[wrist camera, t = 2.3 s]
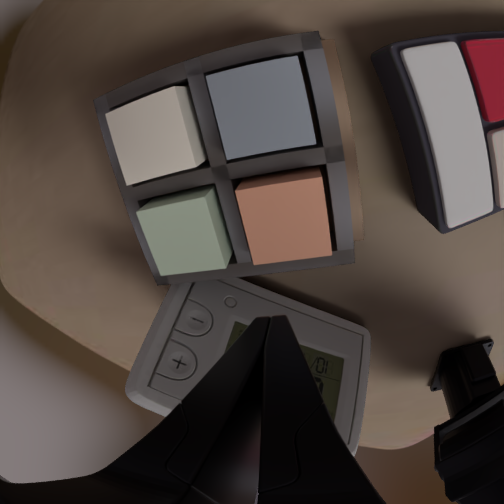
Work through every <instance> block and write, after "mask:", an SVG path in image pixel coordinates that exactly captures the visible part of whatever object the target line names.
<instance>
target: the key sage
mask: <svg viewBox="0 0 504 504" xmlns="http://www.w3.org/2000/svg"><path fill="white" fill-rule="evenodd" d="M136 213H137V216H138V219H139V222H140V224H141V227H142V230H143V232H144V235H145V237H146V240H147V243H148V245H149V248H150V250H151V253H152V255H153V258H154V260H155V263H156V265H157V268H158V270H159V272H160V275H161V276H164V275H173V274H182V273H190V272H199V271H208V270H217V269H225V268H227V265H228V263H229V260H230V258H231V255H232V253H233V250H234V249H233V246H232V242H231V238H230V235H229V231H228V228H227V224H226V221H225V217H224V213H223V210H222V206H221V203H220V199H219V195H218V192H217V188H216V184H213V185H208V186H203V187H199V188H194V189H190V190H185V191H181V192H176V193H172V194H168V195H164V196H159V197H155V198H153V199H151V200H150V201H149V202H148V203H146V204H145V205H144V206H143V207H142V208H140V209H139V210H138V211H137V212H136Z"/></svg>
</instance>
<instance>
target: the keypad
mask: <svg viewBox="0 0 504 504" xmlns="http://www.w3.org/2000/svg"><path fill="white" fill-rule="evenodd" d="M292 56H298V60H299V64H300V68H301V72H302V76H303V81H304V85H305V89H306V94H307V99H308V103H309V108H310V113H311V118H312V123H313V128H314V134H315V139H316V144H314V145H307V146H301V147H294V148H288V149H282V150H276V151H271V152H265V153H260V154H254V155H249V156H244V157H239V158H234V159H230V160H227V158H226V154H225V150H224V146H223V142H222V139H221V135H220V131H219V127H218V123H217V119H216V115H215V111H214V107H213V103H212V99H211V95H210V91H209V87H208V83H207V80H206V76H208V75H211V74H215V73H218V72H222V71H226V70H230V69H234V68H238V67H242V66H246V65H251V64H255V63H260V62H265V61H270V60H275V59H281V58H286V57H292ZM173 86H184V87H190V90H191V94H192V98H193V102H194V105H195V109H196V113H197V117H198V121H199V125H200V128H201V132H202V136H203V140H204V143H205V147H206V151H207V155H208V159H207V160H205V161H204V162H202V163H201V164H200V165H198V166H197V167H194V168H190V169H186V170H182V171H178V172H174V173H171V174H167V175H163V176H159V177H156V178H152V179H148V180H145V181H141V182H138V183H135V184H131V185H128V186H127V185H126V182H125V179H124V176H123V173H122V170H121V166H120V163H119V160H118V157H117V154H116V150H115V147H114V144H113V140H112V137H111V133H110V130H109V126H108V123H107V119H106V115H105V114H106V113H109V112H111V111H113V110H115V109H117V108H120V107H122V106H124V105H127V104H129V103H131V102H134V101H136V100H139V99H141V98H144V97H146V96H149V95H151V94H154V93H157V92H159V91H162V90H165V89H168V88H170V87H173ZM93 101H94V105H95V109H96V113H97V117H98V121H99V124H100V128H101V131H102V135H103V138H104V142H105V145H106V149H107V152H108V155H109V158H110V161H111V165H112V168H113V171H114V174H115V177H116V180H117V183H118V186H119V189H120V192H121V195H122V197H123V200H124V203H125V206H126V209H127V211H128V214H129V217H130V219H131V222H132V225H133V227H134V230H135V233H136V235H137V238H138V240H139V243H140V245H141V248H142V250H143V253H144V255H145V258H146V260H147V262H148V265H149V267H150V269H151V272H152V274H153V276H154V279H155V281H156V283H157V285H167V284H177V283H187V282H197V281H207V280H217V279H226V278H235V277H244V276H253V275H262V274H271V273H280V272H288V271H296V270H305V269H313V268H321V267H329V266H336V265H344V264H352V263H355V256H354V241H360V240H364V228H363V214H362V202H361V192H360V182H359V173H358V165H357V157H356V150H355V143H354V136H353V130H352V123H351V117H350V112H349V106H348V101H347V96H346V91H345V86H344V81H343V76H342V72H341V67H340V63H339V59H338V54H337V50H336V46H335V42H334V39H328V40H321V38H320V35H319V31H314V32H306V33H299V34H292V35H286V36H280V37H274V38H269V39H264V40H259V41H254V42H250V43H246V44H241V45H237V46H233V47H229V48H226V49H222V50H218V51H215V52H211V53H208V54H205V55H201V56H198V57H195V58H192V59H189V60H186V61H183V62H180V63H177V64H174V65H172V66H169V67H166V68H164V69H161V70H158V71H156V72H153V73H151V74H148V75H146V76H143V77H141V78H139V79H136V80H134V81H132V82H130V83H127V84H125V85H123V86H121V87H119V88H116V89H114V90H112V91H110V92H108V93H106V94H104V95H102V96H100V97H98V98H96V99H94V100H93ZM316 166H319V169H320V172H321V175H322V180H323V187H324V194H325V201H326V208H327V215H328V223H329V231H330V240H331V249H332V255H331V256H323V257H315V258H307V259H299V260H291V261H283V262H275V263H267V264H259V265H254V264H253V260H252V256H251V252H250V248H249V244H248V240H247V236H246V232H245V229H244V225H243V221H242V217H241V213H240V209H239V205H238V201H237V197H236V193H235V190H236V189H237V187H238V185H239V184H240V182H241V181H242V179H243V178H249V177H254V176H260V175H265V174H271V173H277V172H283V171H289V170H296V169H302V168H309V167H316ZM213 184H216V188H217V192H218V195H219V199H220V203H221V206H222V210H223V213H224V217H225V221H226V224H227V228H228V231H229V235H230V238H231V242H232V246H233V249H234V250H233V253H232V255H231V258H230V260H229V263H228V265H227V268H225V269H217V270H208V271H199V272H190V273H182V274H173V275H164V276H161V275H160V272H159V270H158V268H157V265H156V263H155V260H154V258H153V255H152V253H151V250H150V248H149V245H148V243H147V240H146V237H145V235H144V232H143V230H142V227H141V224H140V222H139V219H138V216H137V213H136V212H137V211H138V210H139V209H140V208H142V207H143V206H144V205H145V204H146V203H148V202H149V201H150V200H151V199H153V198H155V197H159V196H164V195H168V194H172V193H176V192H181V191H185V190H190V189H194V188H199V187H203V186H208V185H213Z"/></svg>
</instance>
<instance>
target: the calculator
mask: <svg viewBox="0 0 504 504" xmlns="http://www.w3.org/2000/svg"><path fill="white" fill-rule="evenodd" d="M371 60H372V63H373V65H374V67H375V70H376V72H377V75H378V77H379V80H380V82H381V85H382V87H383V90H384V93H385V95H386V98H387V101H388V103H389V106H390V109H391V112H392V115H393V118H394V121H395V124H396V127H397V130H398V133H399V137H400V140H401V143H402V147H403V150H404V154H405V158H406V161H407V165H408V169H409V173H410V177H411V181H412V186H413V190H414V194H415V199H416V204H417V209H418V211H419V213H420V214H421V215H422V216H424V217H425V218H426V219H427V220H428V221H429V222H430V223H431V224H432V225H433V226H434V227H435V228H436V229H437V230H438V231H439V232H440V233H442V234H445V233H448V232H450V231H453V230H455V229H458V228H460V227H463V226H465V225H468V224H470V223H473V222H475V221H478V220H480V219H482V218H485V217H487V216H490V215H492V214H494V213H497V212H499V211H501V210H504V31H483V32H466V33H455V34H445V35H437V36H430V37H423V38H417V39H411V40H405V41H400V42H395V43H392V44H390V45H387V46H385V47H383V48H381V49H379V50H377V51H375V52H374V53H372V55H371Z"/></svg>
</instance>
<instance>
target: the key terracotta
mask: <svg viewBox="0 0 504 504" xmlns="http://www.w3.org/2000/svg"><path fill="white" fill-rule="evenodd" d="M235 193H236V197H237V201H238V205H239V209H240V213H241V217H242V221H243V225H244V229H245V232H246V236H247V240H248V244H249V248H250V252H251V256H252V260H253V264H254V265H259V264H267V263H275V262H283V261H291V260H299V259H307V258H315V257H323V256H331V255H332V249H331V240H330V231H329V223H328V215H327V208H326V201H325V194H324V187H323V180H322V175H321V172H320V169H319V166H316V167H309V168H302V169H296V170H289V171H283V172H277V173H271V174H265V175H260V176H254V177H249V178H243V179H242V181H241V182H240V184H239V185H238V187H237V189H236V190H235Z"/></svg>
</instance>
